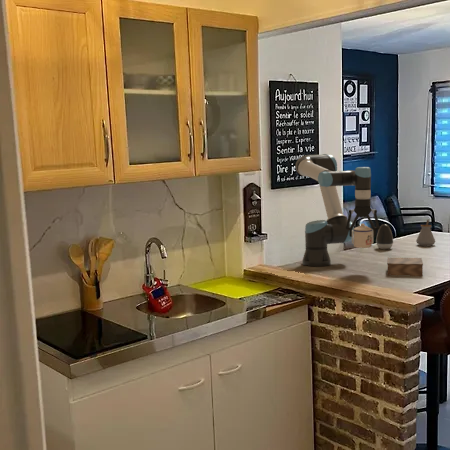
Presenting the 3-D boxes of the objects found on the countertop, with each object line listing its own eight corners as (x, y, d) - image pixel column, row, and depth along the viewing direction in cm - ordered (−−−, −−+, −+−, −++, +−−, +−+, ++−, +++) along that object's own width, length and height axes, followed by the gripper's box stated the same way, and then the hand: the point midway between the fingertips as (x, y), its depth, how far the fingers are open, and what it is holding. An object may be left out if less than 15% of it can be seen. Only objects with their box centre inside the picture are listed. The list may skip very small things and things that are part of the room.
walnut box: (387, 275, 283) (387, 263, 283) (387, 269, 299) (387, 257, 298) (422, 276, 279) (423, 264, 278) (421, 270, 294) (421, 258, 294)
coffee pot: (434, 247, 362) (434, 223, 360) (415, 246, 367) (415, 222, 365) (437, 242, 381) (437, 219, 380) (418, 241, 386) (419, 218, 384)
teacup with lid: (369, 248, 286) (369, 225, 285) (351, 247, 291) (351, 224, 289) (375, 244, 297) (375, 222, 295) (357, 243, 301) (358, 221, 300)
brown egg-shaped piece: (395, 247, 363) (395, 223, 362) (390, 250, 355) (390, 225, 353) (379, 246, 369) (379, 222, 367) (373, 249, 360) (373, 224, 358)
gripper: (340, 199, 289) (340, 244, 292) (385, 198, 285) (385, 244, 288) (340, 197, 296) (340, 241, 299) (384, 197, 292) (384, 242, 295)
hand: (362, 243), depth 294 cm, fingers closed on teacup with lid, 9 cm apart
